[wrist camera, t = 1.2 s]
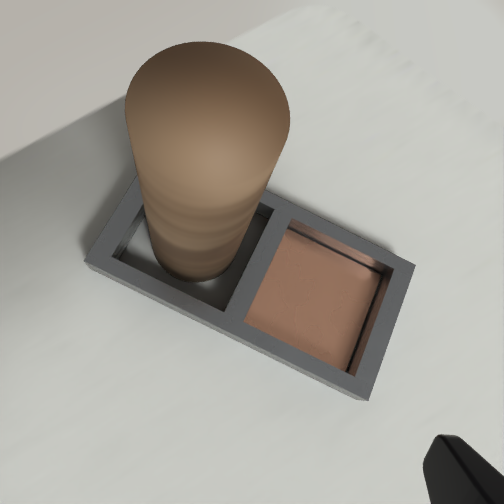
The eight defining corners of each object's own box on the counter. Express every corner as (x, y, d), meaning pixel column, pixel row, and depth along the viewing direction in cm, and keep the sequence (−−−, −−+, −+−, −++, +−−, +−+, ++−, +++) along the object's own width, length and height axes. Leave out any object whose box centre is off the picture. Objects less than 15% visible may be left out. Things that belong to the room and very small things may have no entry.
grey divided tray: (356, 399, 23) (368, 401, 21) (89, 268, 22) (83, 260, 21) (402, 271, 25) (415, 265, 23) (161, 151, 25) (160, 137, 23)
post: (214, 297, 23) (249, 214, 11) (136, 258, 23) (92, 136, 11) (251, 224, 24) (314, 86, 13) (177, 187, 24) (174, 16, 13)
